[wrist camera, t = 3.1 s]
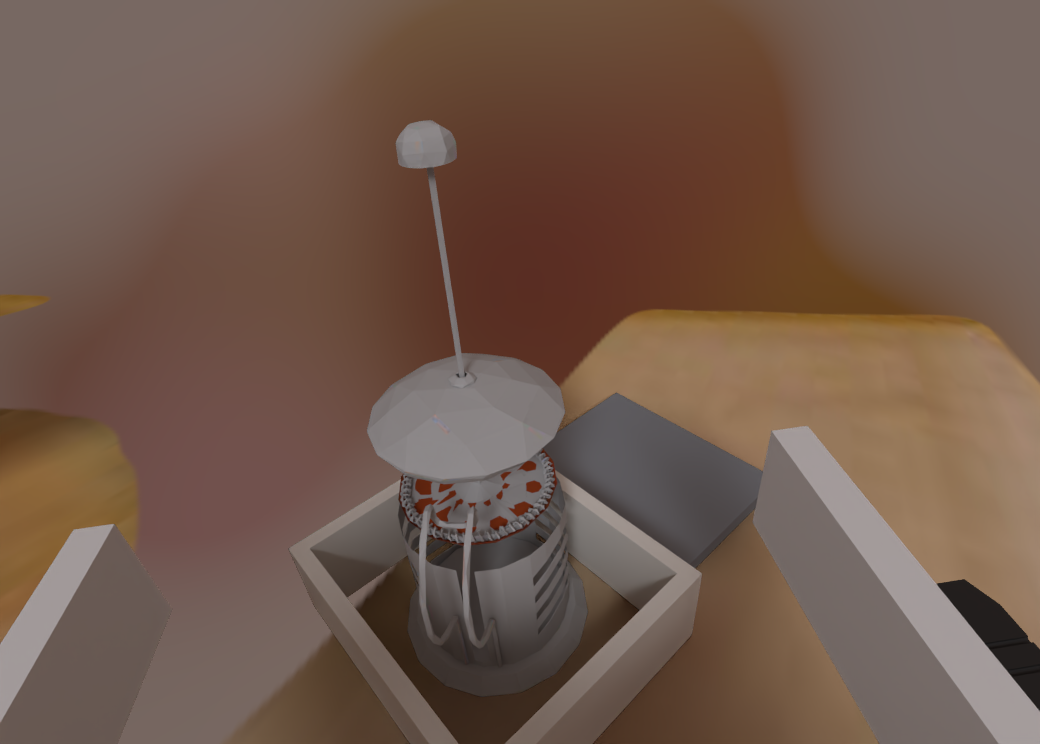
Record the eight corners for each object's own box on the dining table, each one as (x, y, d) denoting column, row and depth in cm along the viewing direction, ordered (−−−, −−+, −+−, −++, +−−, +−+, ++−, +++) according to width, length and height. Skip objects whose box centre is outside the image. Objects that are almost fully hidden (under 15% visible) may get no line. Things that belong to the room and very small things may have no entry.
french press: (590, 538, 36) (588, 82, 22) (582, 748, 27) (571, 189, 12) (431, 529, 37) (331, 95, 23) (371, 726, 28) (136, 201, 14)
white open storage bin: (314, 606, 33) (288, 548, 30) (497, 481, 40) (490, 424, 37) (488, 857, 24) (474, 806, 21) (691, 634, 30) (702, 573, 28)
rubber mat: (508, 476, 41) (507, 465, 40) (616, 402, 46) (616, 392, 46) (666, 597, 32) (667, 586, 32) (773, 489, 38) (776, 478, 37)
